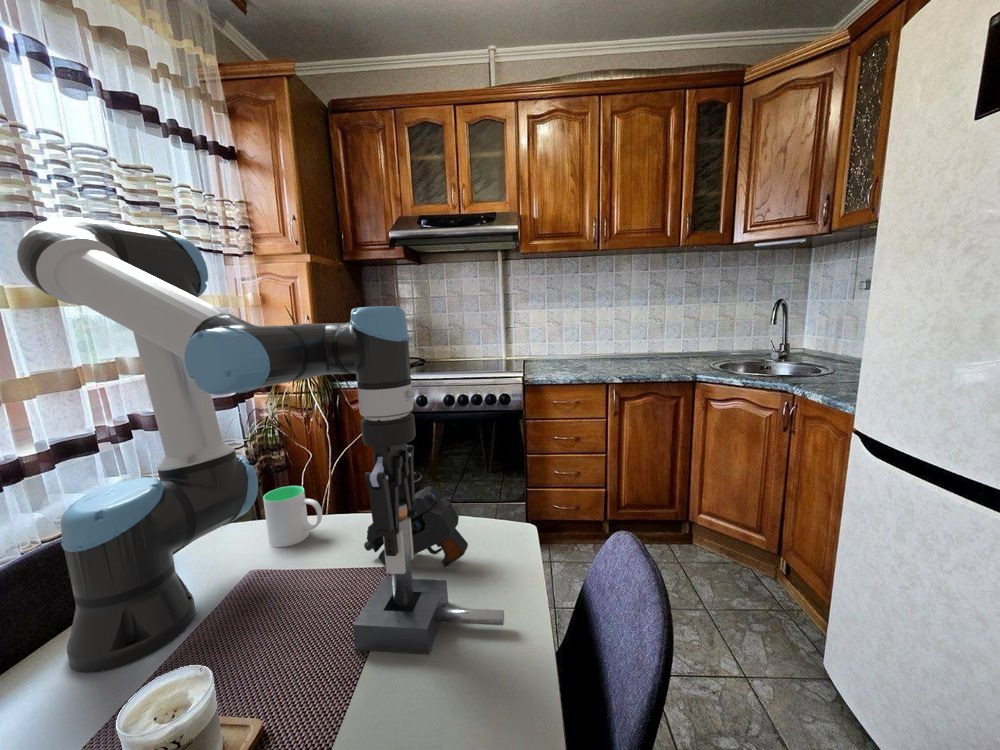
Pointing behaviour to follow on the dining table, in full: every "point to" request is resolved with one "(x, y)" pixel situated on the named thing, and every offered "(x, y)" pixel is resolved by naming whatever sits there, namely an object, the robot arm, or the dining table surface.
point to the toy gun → (429, 529)
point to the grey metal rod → (404, 581)
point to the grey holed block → (412, 618)
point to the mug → (288, 515)
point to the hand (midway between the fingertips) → (400, 564)
